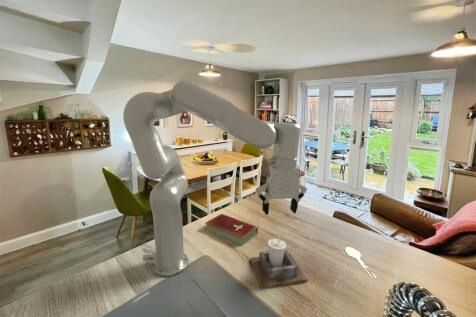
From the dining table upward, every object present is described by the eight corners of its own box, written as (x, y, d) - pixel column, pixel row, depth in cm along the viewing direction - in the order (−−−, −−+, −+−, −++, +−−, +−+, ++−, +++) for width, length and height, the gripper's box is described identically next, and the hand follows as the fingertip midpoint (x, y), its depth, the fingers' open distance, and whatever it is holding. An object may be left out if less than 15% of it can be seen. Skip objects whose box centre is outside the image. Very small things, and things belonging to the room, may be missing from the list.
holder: (261, 288, 75) (262, 276, 74) (250, 260, 88) (250, 249, 87) (307, 281, 78) (308, 270, 77) (289, 255, 91) (290, 245, 90)
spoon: (366, 279, 80) (367, 278, 80) (341, 247, 98) (342, 246, 97) (382, 279, 80) (382, 278, 80) (354, 247, 98) (354, 246, 98)
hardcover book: (221, 220, 118) (221, 212, 117) (257, 234, 106) (258, 225, 105) (205, 230, 109) (205, 222, 108) (242, 246, 97) (242, 237, 96)
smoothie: (284, 275, 79) (287, 238, 76) (265, 272, 80) (267, 236, 77) (284, 263, 85) (287, 228, 82) (266, 260, 86) (268, 226, 83)
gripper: (261, 165, 68) (257, 219, 72) (315, 165, 72) (308, 216, 76) (254, 159, 76) (251, 208, 80) (304, 159, 79) (298, 206, 83)
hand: (279, 212), depth 78 cm, fingers open, 9 cm apart
